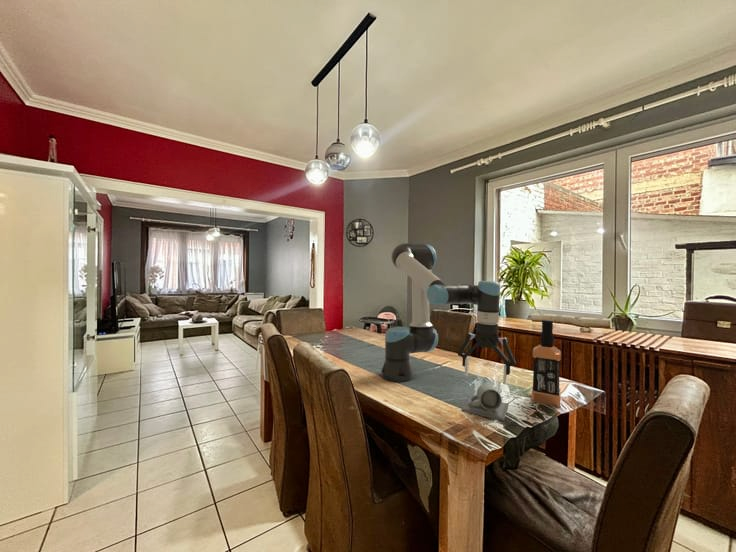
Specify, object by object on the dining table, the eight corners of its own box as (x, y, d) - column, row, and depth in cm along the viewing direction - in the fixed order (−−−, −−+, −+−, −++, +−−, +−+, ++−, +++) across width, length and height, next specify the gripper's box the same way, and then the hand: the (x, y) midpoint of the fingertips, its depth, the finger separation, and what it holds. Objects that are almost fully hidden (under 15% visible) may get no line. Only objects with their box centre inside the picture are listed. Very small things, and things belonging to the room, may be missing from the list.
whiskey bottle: (560, 407, 115) (562, 323, 114) (530, 401, 120) (532, 320, 119) (560, 398, 124) (561, 319, 123) (532, 392, 129) (534, 317, 128)
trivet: (462, 410, 111) (462, 408, 111) (470, 397, 123) (470, 395, 123) (503, 421, 104) (503, 418, 104) (508, 405, 116) (508, 403, 116)
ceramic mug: (495, 401, 117) (495, 382, 117) (502, 411, 109) (502, 390, 109) (466, 400, 118) (466, 381, 118) (471, 410, 110) (471, 389, 110)
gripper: (451, 320, 116) (449, 374, 117) (524, 329, 103) (521, 390, 104) (456, 317, 123) (454, 369, 124) (525, 325, 110) (523, 383, 111)
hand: (484, 378), depth 114 cm, fingers open, 13 cm apart
